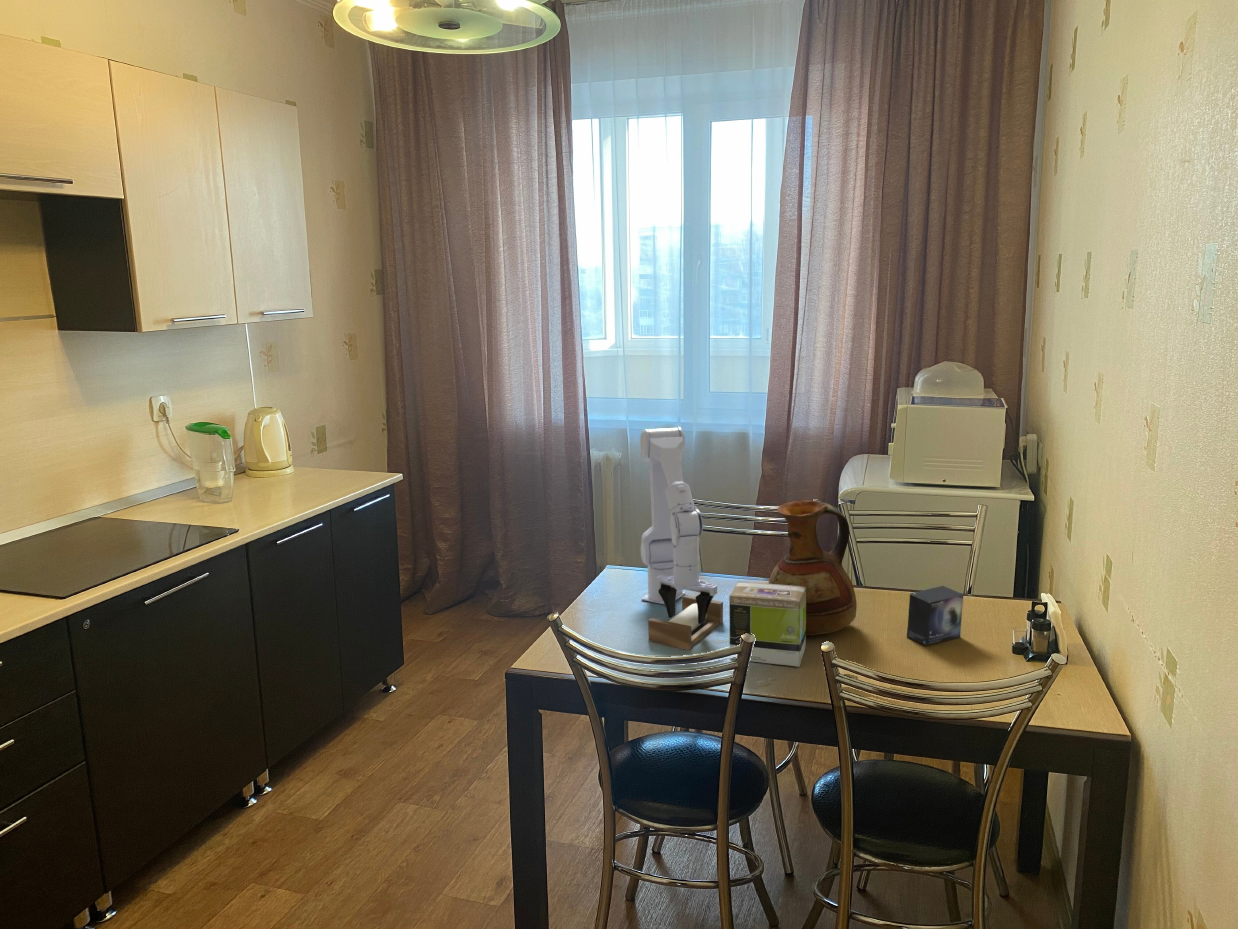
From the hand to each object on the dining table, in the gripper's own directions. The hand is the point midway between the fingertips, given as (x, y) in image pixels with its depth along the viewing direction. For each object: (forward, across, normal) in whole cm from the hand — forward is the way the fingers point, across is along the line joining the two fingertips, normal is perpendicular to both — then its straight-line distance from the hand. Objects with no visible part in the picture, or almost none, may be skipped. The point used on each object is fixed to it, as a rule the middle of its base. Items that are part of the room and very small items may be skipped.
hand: (686, 619), depth 206 cm
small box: (+3, +50, +23) cm, 55 cm away
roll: (+1, 0, 0) cm, 1 cm away
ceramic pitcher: (+3, +24, +16) cm, 29 cm away
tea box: (+3, +21, -3) cm, 21 cm away
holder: (+3, 0, 0) cm, 3 cm away
